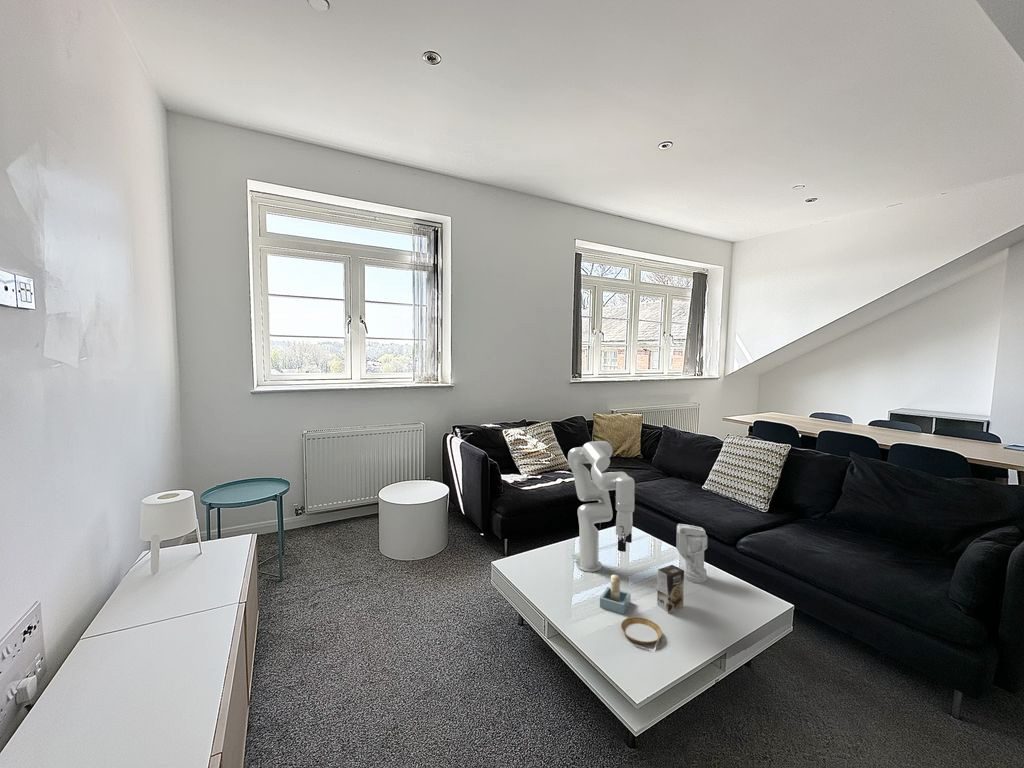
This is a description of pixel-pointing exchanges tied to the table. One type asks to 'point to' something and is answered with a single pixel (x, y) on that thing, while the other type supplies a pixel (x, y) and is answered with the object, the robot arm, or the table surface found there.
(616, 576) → the dowel
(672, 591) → the coffee box
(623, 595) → the holder
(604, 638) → the table surface
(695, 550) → the white sculpture
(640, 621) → the plant saucer
